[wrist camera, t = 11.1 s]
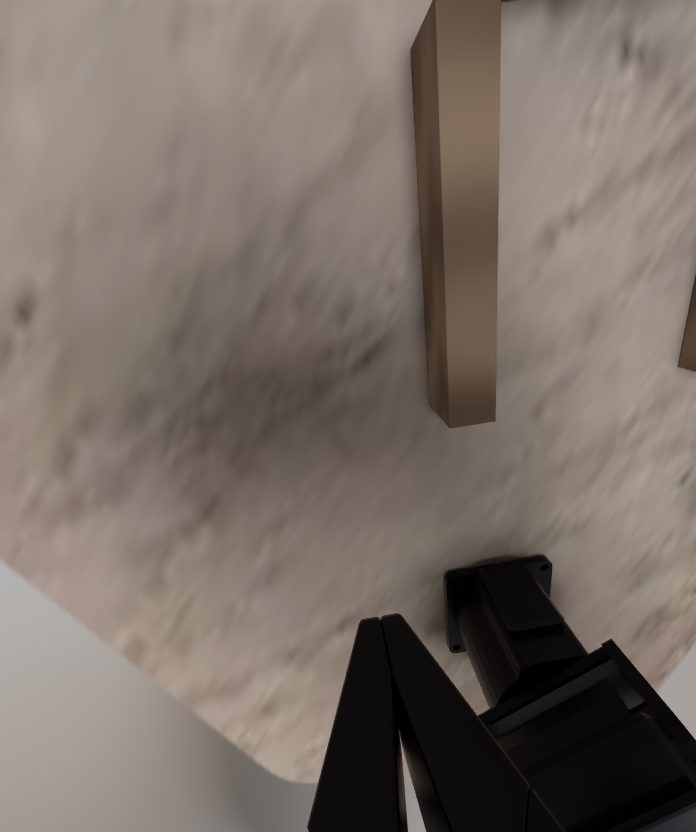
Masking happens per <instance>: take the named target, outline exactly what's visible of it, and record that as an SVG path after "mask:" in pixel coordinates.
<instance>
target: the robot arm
mask: <svg viewBox="0 0 696 832" xmlns="http://www.w3.org/2000/svg"><path fill="white" fill-rule="evenodd" d="M551 576H552V563H551V562H550V561H549V560H548V558H547V557H544V556H540V557H534V558H528V559H522V560H517V561H511V562H505V563H499V564H493V565H487V566H481V567H475V568H469V569H463V570H458V571H452V572H449V573H447V574H446V575H445V577H444V588H445V609H446V630H447V644H448V647H449V650H450V651H451V652H452V653H460V652H465V651H467V654H468V656H469V659H470V661H471V663H472V666H473V668H474V671H475V673H476V676H477V678H478V681H479V683H480V686H481V688H482V691H483V693H484V696H485V698H486V701H487V703H488V706H489V708H490V709H489V710H487V711H485V712H483V713H481V714H480V715H478V716H477V714H476V713H475V712H474V710H473V709H472V708H471V707H470V705H469V704H468V703H467V701H466V700H465V699H464V697H463V696H462V695H461V693H460V692H459V691H458V689H457V688H456V687H455V685H454V684H453V683H452V681H451V680H450V679H449V677H448V676H447V675H446V673H445V672H444V671H443V669H442V668H441V667H440V666H439V664H438V663H437V662H436V660H435V659H434V658H433V656H432V655H431V654H430V652H429V651H428V650H427V648H426V647H425V646H424V644H423V643H422V642H421V640H420V639H419V638H418V636H417V635H416V634H415V632H414V631H413V630H412V628H411V627H410V626H409V624H408V623H407V622H406V621H405V619H404V618H403V617H402V616H401V615H400V614H398V613H396V614H390V615H384V616H382V617H381V621H380V619H379V618H378V617H373V618H367V619H362V620H361V621H360V623H359V626H358V630H357V633H356V637H355V641H354V645H353V649H352V653H351V657H350V661H349V665H348V669H347V673H346V677H345V680H344V684H343V688H342V692H341V696H340V700H339V704H338V708H337V712H336V716H335V720H334V724H333V727H332V731H331V735H330V739H329V743H328V747H327V751H326V755H325V759H324V763H323V767H322V771H321V774H320V778H319V782H318V786H317V790H316V794H315V798H314V802H313V806H312V810H311V814H310V818H309V821H308V825H307V828H308V831H309V832H408V826H407V814H406V802H405V788H404V776H403V763H402V752H401V743H400V737H401V742H402V746H403V750H404V754H405V758H406V762H407V765H408V769H409V772H410V776H411V779H412V782H413V786H414V790H415V793H416V797H417V800H418V804H419V807H420V811H421V814H422V818H423V822H424V825H425V829H426V832H696V740H695V739H694V738H693V736H692V735H691V734H690V733H689V731H688V730H687V729H686V728H685V726H684V725H683V724H682V723H681V721H680V720H679V719H678V718H677V717H676V715H675V714H674V713H673V712H672V711H671V709H670V708H669V707H668V706H667V705H666V703H665V702H664V701H663V700H662V699H661V698H660V696H659V695H658V694H657V693H656V692H655V690H654V689H653V688H652V687H651V686H650V684H649V683H648V682H647V681H646V680H645V678H644V677H643V676H642V675H641V674H640V672H639V671H638V670H637V669H636V668H635V666H634V665H633V664H632V663H631V662H630V660H629V659H628V658H627V657H626V656H625V655H624V653H623V652H622V651H621V650H620V649H619V647H618V646H617V645H616V644H615V643H614V641H613V640H612V639H610V640H608V641H606V642H604V643H602V644H601V645H602V647H600V648H598V649H597V650H595V651H593V652H591V653H589V654H588V652H587V651H586V650H585V648H584V647H583V645H582V644H581V643H580V641H579V640H578V638H577V637H576V636H575V634H574V633H573V632H572V630H571V629H570V627H569V626H568V625H567V623H566V622H565V620H564V618H563V616H562V615H561V613H560V612H559V611H558V609H557V608H556V607H555V605H554V604H553V602H552V601H551V600H550V587H551ZM452 580H454V581H452ZM399 733H400V735H399Z"/></svg>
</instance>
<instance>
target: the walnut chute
mask: <svg viewBox="0 0 696 832" xmlns="http://www.w3.org/2000/svg"><path fill="white" fill-rule="evenodd" d="M500 47H501V0H433V1H432V3H431V6H430V8H429V10H428V12H427V14H426V17H425V19H424V21H423V23H422V25H421V28H420V30H419V32H418V34H417V36H416V39H415V41H414V43H413V45H412V47H411V65H412V84H413V103H414V121H415V140H416V158H417V177H418V196H419V214H420V233H421V251H422V270H423V289H424V307H425V326H426V344H427V363H428V382H429V400H430V406H431V407H432V408H433V409H434V411H435V412H436V413H437V414H438V415H439V416H440V418H441V419H442V420H443V421H444V422H445V423H446V425H447V426H448V427H449V428H455V427H462V426H468V425H474V424H481V423H487V422H494V421H495V409H496V336H497V264H498V191H499V119H500ZM679 367H681V368H684V369H688V370H692V371H696V279H695V284H694V289H693V295H692V300H691V305H690V310H689V315H688V320H687V325H686V331H685V336H684V341H683V346H682V351H681V356H680V362H679Z"/></svg>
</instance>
